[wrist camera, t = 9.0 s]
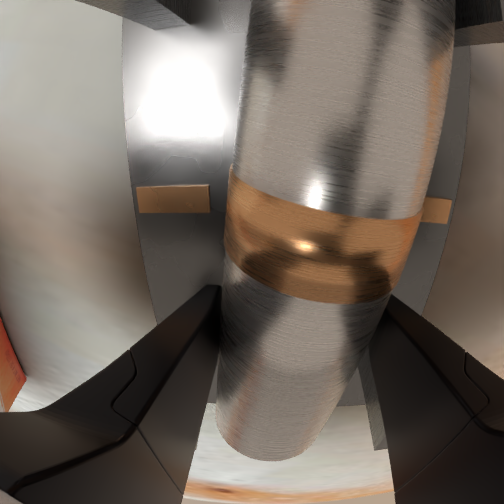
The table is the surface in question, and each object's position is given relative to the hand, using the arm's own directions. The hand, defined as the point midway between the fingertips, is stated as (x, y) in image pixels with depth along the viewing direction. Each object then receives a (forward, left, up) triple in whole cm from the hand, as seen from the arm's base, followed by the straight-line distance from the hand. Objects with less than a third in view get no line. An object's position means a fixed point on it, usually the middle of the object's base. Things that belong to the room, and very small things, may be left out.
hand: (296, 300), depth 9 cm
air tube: (-1, -3, -1) cm, 3 cm away
